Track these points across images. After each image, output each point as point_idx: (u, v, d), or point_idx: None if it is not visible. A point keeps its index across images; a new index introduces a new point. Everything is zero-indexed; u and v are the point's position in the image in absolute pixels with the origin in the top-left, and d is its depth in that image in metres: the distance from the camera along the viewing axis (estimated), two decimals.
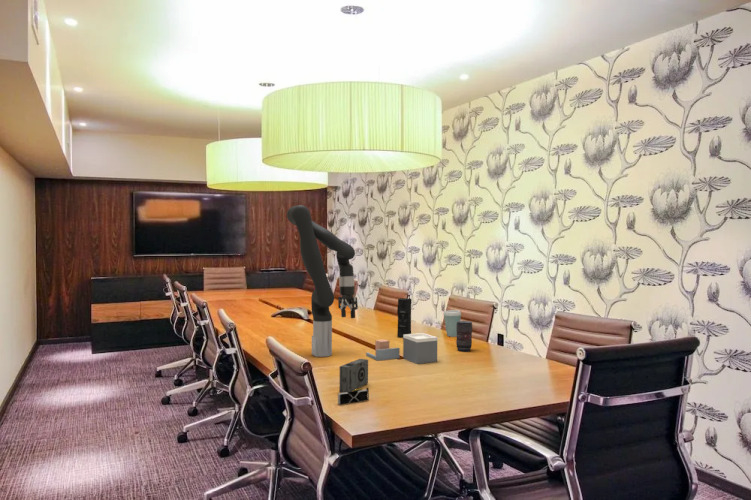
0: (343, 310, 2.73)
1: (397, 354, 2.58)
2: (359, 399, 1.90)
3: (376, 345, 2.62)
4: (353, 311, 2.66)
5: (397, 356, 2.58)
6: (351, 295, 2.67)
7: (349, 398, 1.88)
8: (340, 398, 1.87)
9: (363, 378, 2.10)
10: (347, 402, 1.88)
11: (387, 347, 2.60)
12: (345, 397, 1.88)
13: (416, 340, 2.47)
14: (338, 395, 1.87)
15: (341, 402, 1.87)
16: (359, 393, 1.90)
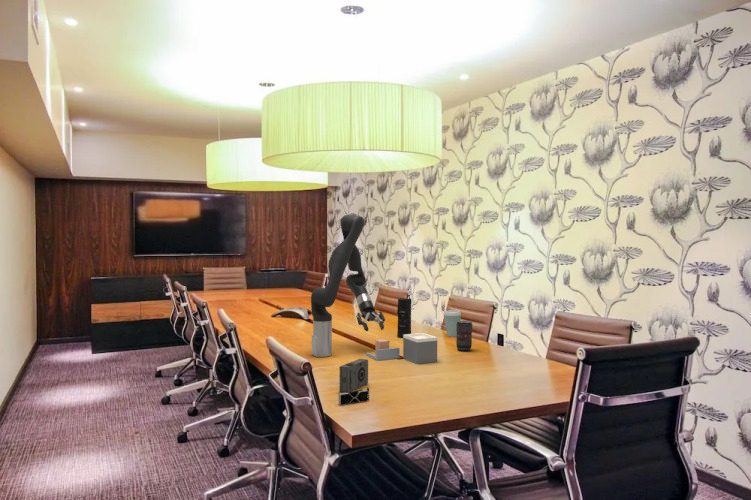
0: None
1: (397, 354, 2.58)
2: (360, 399, 1.90)
3: (376, 345, 2.62)
4: None
5: (397, 356, 2.58)
6: None
7: (350, 398, 1.88)
8: (341, 398, 1.86)
9: (363, 378, 2.10)
10: (348, 402, 1.87)
11: (387, 347, 2.60)
12: (346, 397, 1.87)
13: (416, 340, 2.47)
14: (339, 395, 1.87)
15: (342, 402, 1.86)
16: (360, 393, 1.90)
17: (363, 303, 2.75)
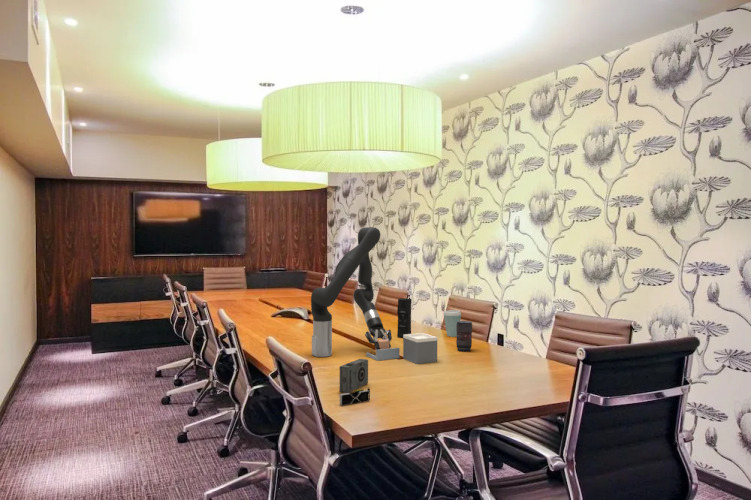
0: None
1: (397, 354, 2.58)
2: (360, 400, 1.89)
3: None
4: None
5: (397, 356, 2.58)
6: None
7: (351, 399, 1.87)
8: (342, 399, 1.86)
9: (363, 378, 2.10)
10: (349, 403, 1.87)
11: (387, 347, 2.60)
12: (347, 398, 1.87)
13: (416, 340, 2.47)
14: (340, 396, 1.86)
15: (343, 403, 1.86)
16: (360, 394, 1.89)
17: (371, 320, 2.67)
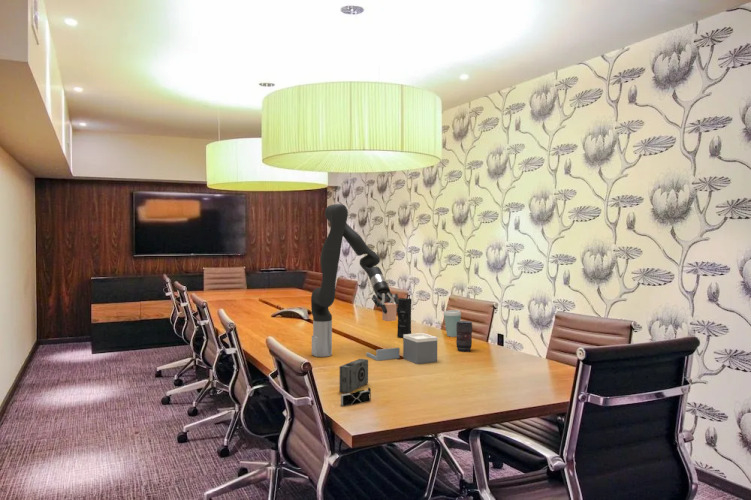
0: None
1: (397, 354, 2.58)
2: (361, 400, 1.89)
3: None
4: None
5: (397, 356, 2.58)
6: None
7: (352, 399, 1.87)
8: (343, 399, 1.85)
9: (363, 378, 2.10)
10: (350, 403, 1.86)
11: (394, 310, 2.59)
12: (348, 398, 1.86)
13: (416, 340, 2.47)
14: (341, 396, 1.86)
15: (344, 403, 1.85)
16: (361, 394, 1.89)
17: (378, 284, 2.66)
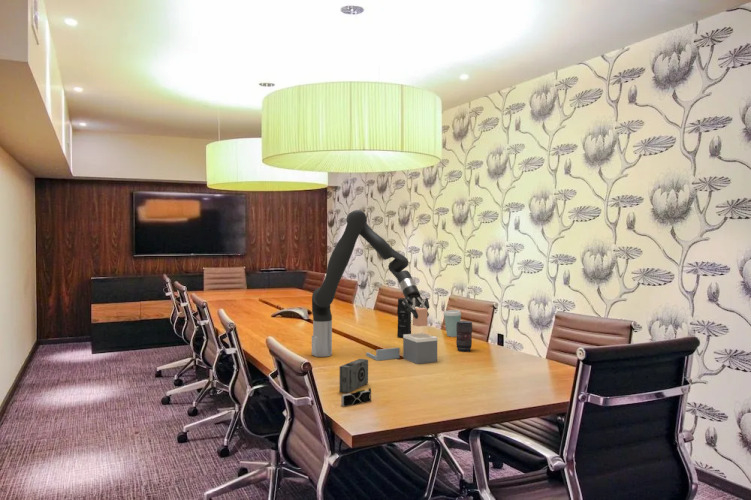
0: None
1: (397, 354, 2.58)
2: (362, 400, 1.89)
3: None
4: None
5: (397, 356, 2.58)
6: None
7: (352, 399, 1.87)
8: (344, 400, 1.85)
9: (363, 378, 2.10)
10: (350, 403, 1.86)
11: (425, 315, 2.53)
12: (348, 398, 1.86)
13: (416, 340, 2.47)
14: (341, 397, 1.85)
15: (345, 404, 1.85)
16: (362, 394, 1.89)
17: (408, 288, 2.60)
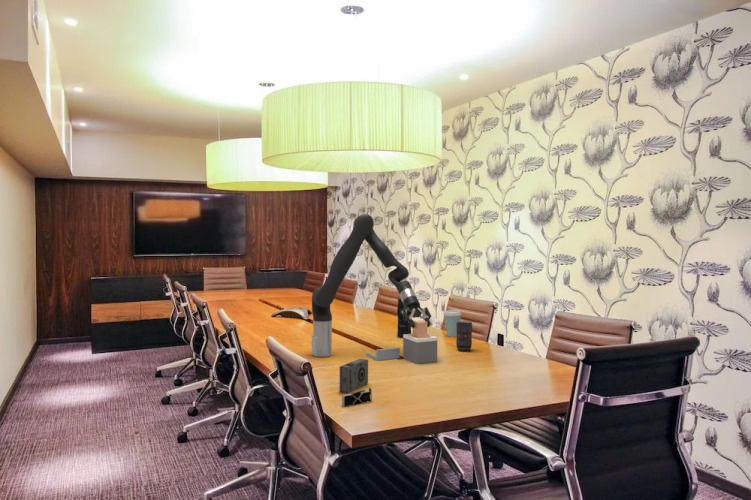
0: None
1: (397, 354, 2.58)
2: (362, 400, 1.89)
3: None
4: None
5: (397, 356, 2.58)
6: None
7: (353, 400, 1.86)
8: (344, 400, 1.84)
9: (363, 378, 2.10)
10: (351, 404, 1.86)
11: (425, 328, 2.53)
12: (349, 399, 1.86)
13: (416, 340, 2.47)
14: (342, 397, 1.85)
15: (345, 404, 1.85)
16: (362, 394, 1.89)
17: (408, 298, 2.60)
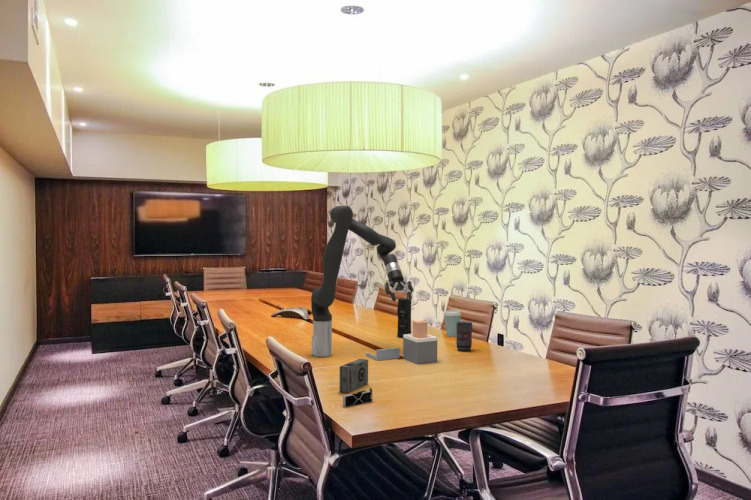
0: None
1: (397, 354, 2.58)
2: (363, 401, 1.88)
3: (414, 326, 2.55)
4: None
5: (397, 356, 2.58)
6: None
7: (354, 400, 1.86)
8: (345, 400, 1.84)
9: (363, 378, 2.10)
10: (352, 404, 1.86)
11: (425, 328, 2.53)
12: (350, 399, 1.85)
13: (416, 340, 2.47)
14: (343, 397, 1.84)
15: (346, 404, 1.84)
16: (363, 394, 1.88)
17: (392, 272, 2.71)
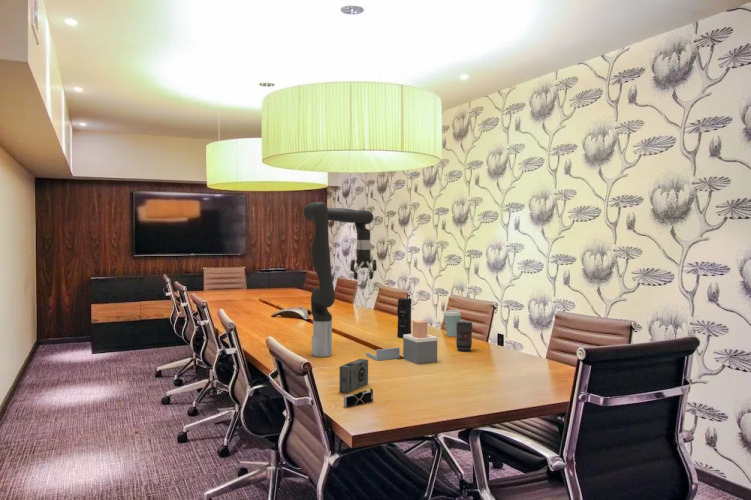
0: None
1: (397, 354, 2.58)
2: (364, 401, 1.88)
3: (414, 326, 2.55)
4: None
5: (397, 356, 2.58)
6: None
7: (355, 400, 1.86)
8: (346, 401, 1.84)
9: (363, 378, 2.10)
10: (353, 404, 1.85)
11: (425, 328, 2.53)
12: (351, 399, 1.85)
13: (416, 340, 2.47)
14: (344, 398, 1.84)
15: (347, 405, 1.84)
16: (364, 395, 1.88)
17: (361, 251, 2.79)
